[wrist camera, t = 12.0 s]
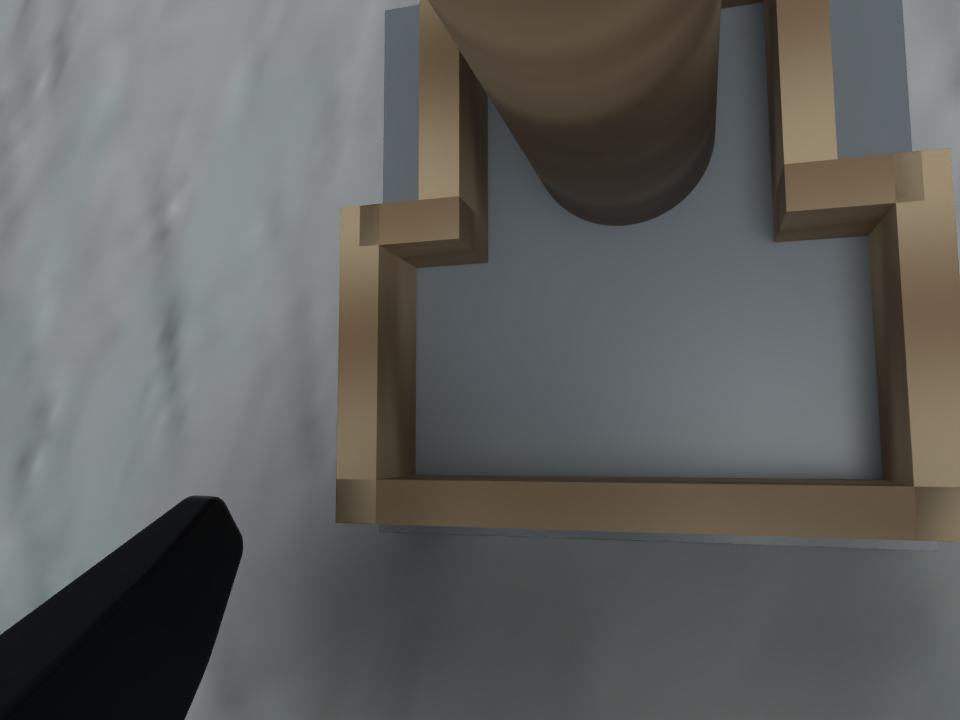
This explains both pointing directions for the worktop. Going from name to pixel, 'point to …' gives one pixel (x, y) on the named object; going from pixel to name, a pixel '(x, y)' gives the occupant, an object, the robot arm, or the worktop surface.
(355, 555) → the worktop surface
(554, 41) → the walnut peg
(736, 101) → the keyhole plate
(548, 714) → the worktop surface
